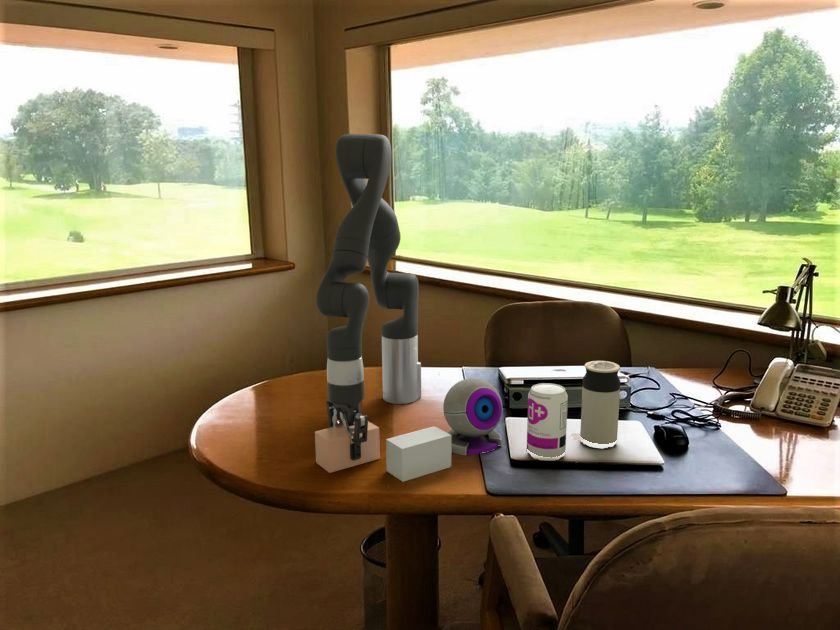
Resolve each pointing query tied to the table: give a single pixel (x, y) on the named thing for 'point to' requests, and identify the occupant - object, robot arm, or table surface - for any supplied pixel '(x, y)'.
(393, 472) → the white rectangular eraser
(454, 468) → the table surface
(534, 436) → the supplement can
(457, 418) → the webcam
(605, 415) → the travel mug
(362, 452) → the peach rectangular block
